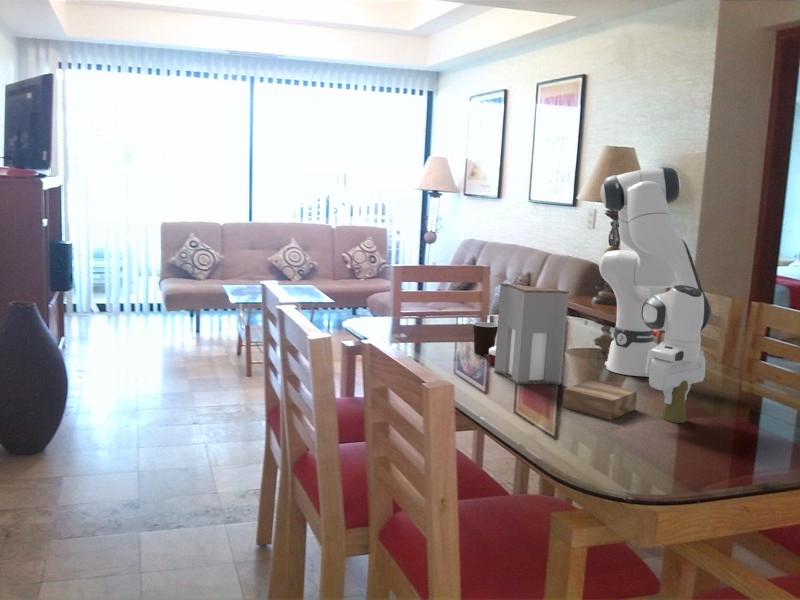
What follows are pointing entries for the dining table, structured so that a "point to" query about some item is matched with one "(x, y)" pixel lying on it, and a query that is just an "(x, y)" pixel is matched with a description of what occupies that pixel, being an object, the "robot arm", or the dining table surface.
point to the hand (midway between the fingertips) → (675, 401)
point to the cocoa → (491, 355)
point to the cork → (676, 405)
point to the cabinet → (531, 334)
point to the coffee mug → (484, 337)
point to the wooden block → (599, 399)
